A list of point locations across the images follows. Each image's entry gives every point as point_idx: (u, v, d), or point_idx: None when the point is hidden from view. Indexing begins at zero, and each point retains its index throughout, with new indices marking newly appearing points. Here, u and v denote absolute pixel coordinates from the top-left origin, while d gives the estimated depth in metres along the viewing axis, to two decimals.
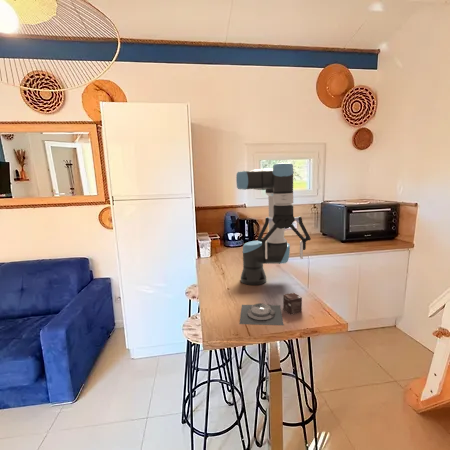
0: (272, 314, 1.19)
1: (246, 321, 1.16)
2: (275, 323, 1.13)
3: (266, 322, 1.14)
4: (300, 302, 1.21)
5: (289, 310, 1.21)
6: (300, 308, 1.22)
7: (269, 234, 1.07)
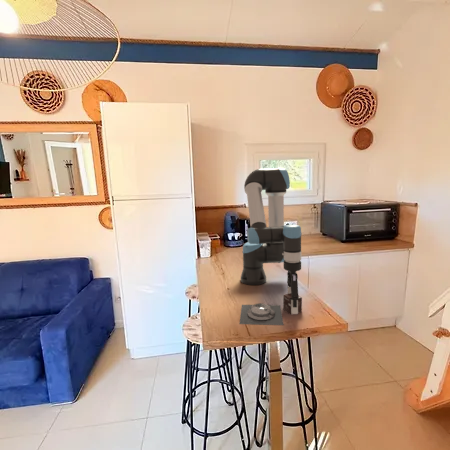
0: (272, 314, 1.19)
1: (246, 321, 1.16)
2: (275, 323, 1.13)
3: (266, 322, 1.14)
4: (300, 302, 1.21)
5: (289, 310, 1.21)
6: (300, 308, 1.22)
7: (288, 281, 1.27)
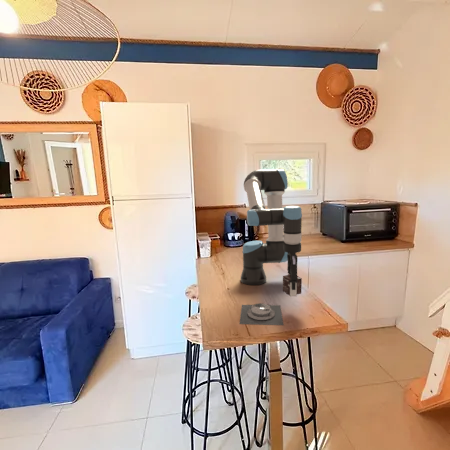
0: (272, 314, 1.19)
1: (246, 321, 1.16)
2: (275, 323, 1.13)
3: (266, 322, 1.14)
4: (300, 282, 1.20)
5: (288, 290, 1.20)
6: (300, 289, 1.21)
7: (288, 266, 1.25)
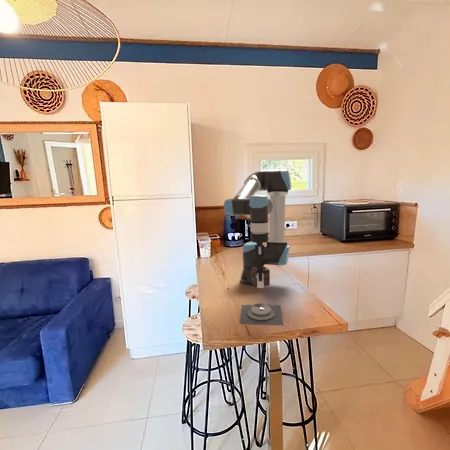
0: (272, 314, 1.19)
1: (246, 321, 1.16)
2: (275, 323, 1.13)
3: (266, 322, 1.14)
4: (268, 274, 1.17)
5: (256, 282, 1.17)
6: (268, 281, 1.17)
7: None
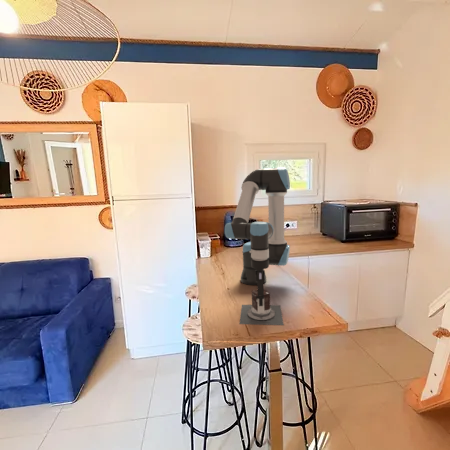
0: (272, 314, 1.19)
1: (246, 321, 1.16)
2: (275, 323, 1.13)
3: (266, 322, 1.14)
4: (268, 298, 1.18)
5: (256, 306, 1.18)
6: (268, 304, 1.19)
7: None
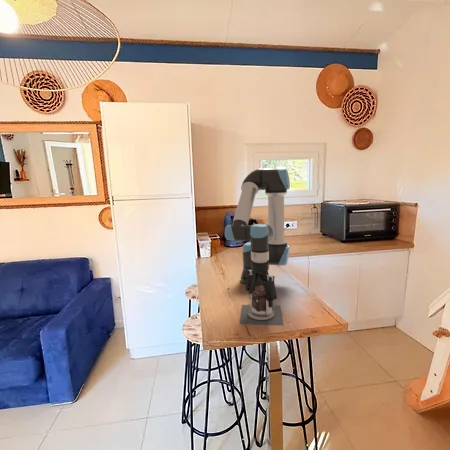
0: (272, 314, 1.19)
1: (246, 321, 1.16)
2: (275, 323, 1.13)
3: (266, 322, 1.14)
4: None
5: (256, 306, 1.18)
6: None
7: (251, 286, 1.22)
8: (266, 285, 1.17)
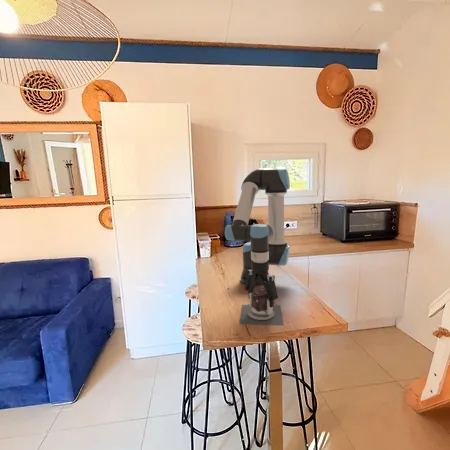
0: (272, 314, 1.19)
1: (246, 321, 1.16)
2: (275, 323, 1.13)
3: (266, 322, 1.14)
4: None
5: (256, 306, 1.18)
6: None
7: (251, 286, 1.22)
8: (266, 285, 1.16)
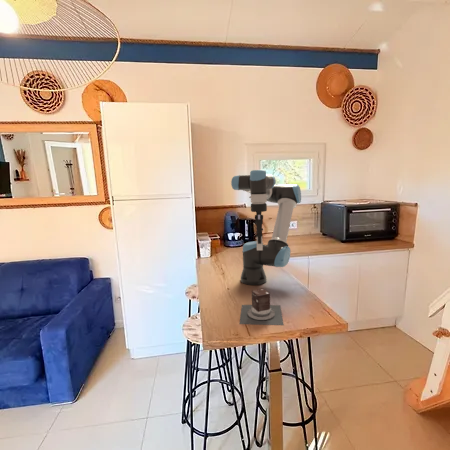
0: (272, 314, 1.19)
1: (246, 321, 1.16)
2: (275, 323, 1.13)
3: (266, 322, 1.14)
4: (268, 298, 1.18)
5: (256, 306, 1.18)
6: (268, 304, 1.19)
7: None
8: None
